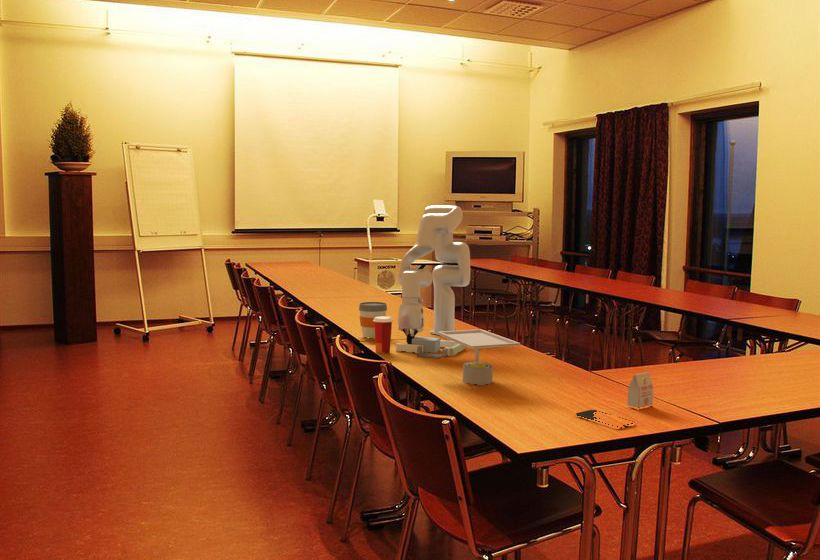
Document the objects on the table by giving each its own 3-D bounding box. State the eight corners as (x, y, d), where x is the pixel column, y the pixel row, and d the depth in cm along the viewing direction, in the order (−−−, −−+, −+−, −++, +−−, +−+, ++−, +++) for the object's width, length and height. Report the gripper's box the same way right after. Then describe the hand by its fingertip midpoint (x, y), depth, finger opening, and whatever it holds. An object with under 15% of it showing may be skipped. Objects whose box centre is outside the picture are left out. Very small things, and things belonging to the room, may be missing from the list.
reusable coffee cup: (386, 339, 313) (386, 305, 312) (357, 339, 313) (357, 305, 312) (387, 334, 326) (387, 302, 324) (360, 334, 326) (360, 301, 324)
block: (417, 348, 294) (417, 336, 293) (440, 350, 290) (440, 338, 290) (411, 351, 288) (411, 338, 288) (435, 353, 284) (435, 340, 284)
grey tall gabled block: (627, 407, 208) (628, 373, 207) (641, 404, 212) (643, 371, 211) (638, 410, 205) (639, 376, 204) (652, 407, 209) (653, 373, 208)
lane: (415, 341, 308) (415, 335, 308) (469, 346, 299) (469, 339, 299) (389, 354, 281) (389, 346, 281) (447, 359, 273) (447, 351, 272)
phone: (593, 409, 203) (636, 422, 191) (593, 413, 203) (636, 426, 191) (573, 413, 198) (617, 427, 186) (573, 417, 199) (616, 431, 186)
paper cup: (393, 350, 288) (393, 316, 287) (391, 354, 281) (391, 319, 280) (374, 350, 289) (374, 315, 288) (371, 353, 282) (371, 318, 280)
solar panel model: (436, 374, 248) (436, 331, 246) (481, 370, 254) (481, 329, 252) (470, 393, 222) (471, 345, 221) (519, 389, 228) (520, 342, 226)
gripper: (431, 301, 292) (430, 345, 294) (397, 298, 298) (397, 342, 300) (424, 303, 285) (424, 348, 287) (390, 300, 291) (390, 345, 293)
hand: (410, 345), depth 293 cm, fingers closed
